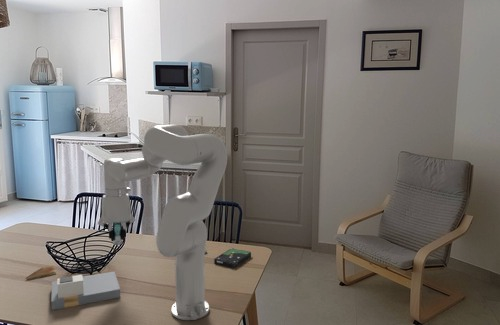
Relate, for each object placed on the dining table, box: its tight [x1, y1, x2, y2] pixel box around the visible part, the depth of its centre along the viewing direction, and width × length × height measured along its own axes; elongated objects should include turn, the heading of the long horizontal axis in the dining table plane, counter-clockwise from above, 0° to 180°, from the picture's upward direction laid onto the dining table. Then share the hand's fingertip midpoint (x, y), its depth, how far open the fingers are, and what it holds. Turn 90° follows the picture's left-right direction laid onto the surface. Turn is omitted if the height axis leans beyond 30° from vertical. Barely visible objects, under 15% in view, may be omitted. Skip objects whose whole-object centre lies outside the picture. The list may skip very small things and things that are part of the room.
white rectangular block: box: [56, 274, 84, 298], centre depth 142 cm, size 5×8×5 cm, turn 115°
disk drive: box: [213, 247, 252, 269], centre depth 180 cm, size 10×3×15 cm
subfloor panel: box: [50, 271, 121, 311], centre depth 148 cm, size 16×22×3 cm
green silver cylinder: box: [112, 222, 123, 246], centre depth 154 cm, size 3×3×8 cm
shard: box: [25, 265, 57, 280], centre depth 164 cm, size 11×8×2 cm
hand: (117, 239), depth 154 cm, fingers closed on green silver cylinder, 3 cm apart
